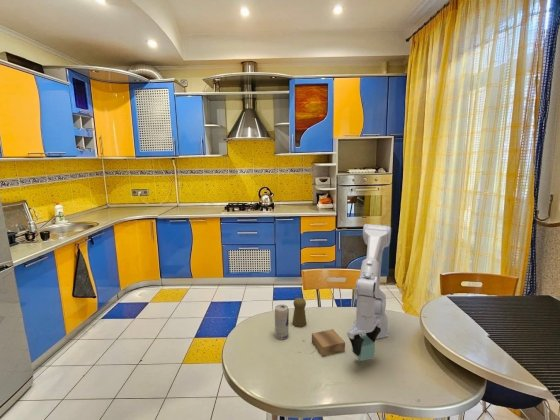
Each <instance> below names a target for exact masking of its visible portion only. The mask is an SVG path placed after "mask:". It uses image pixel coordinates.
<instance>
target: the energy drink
mask: <svg viewBox="0 0 560 420" xmlns="http://www.w3.org/2000/svg"><path fill="white" fill-rule="evenodd" d="M289 311H290V310H289V307H288V305H285V304H277V305H276V306H275V309H274V337H275V338H276V339H278V340H286V339H288V337H289V325H290V324H289V319H290V318H289V313H290V312H289Z"/></svg>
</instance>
